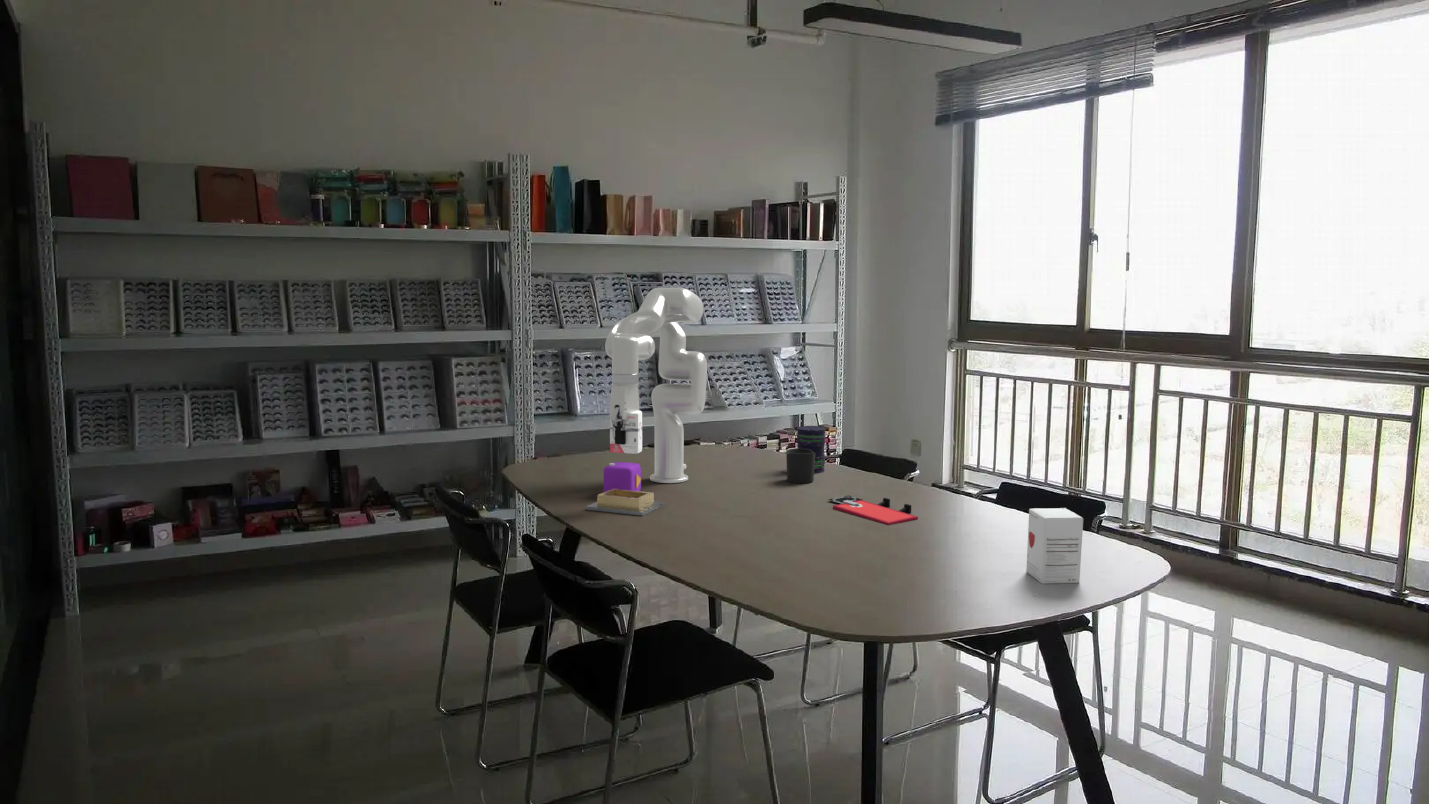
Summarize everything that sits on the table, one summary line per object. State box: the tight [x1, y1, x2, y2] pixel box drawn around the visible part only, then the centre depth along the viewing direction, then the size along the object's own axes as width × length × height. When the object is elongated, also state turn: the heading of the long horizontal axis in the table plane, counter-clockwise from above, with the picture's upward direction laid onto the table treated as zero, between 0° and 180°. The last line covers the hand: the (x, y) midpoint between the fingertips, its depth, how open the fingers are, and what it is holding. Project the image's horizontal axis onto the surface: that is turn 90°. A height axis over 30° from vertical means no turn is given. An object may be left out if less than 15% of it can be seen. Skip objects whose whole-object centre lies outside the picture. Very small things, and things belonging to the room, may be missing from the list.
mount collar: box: [585, 489, 665, 517], centre depth 281 cm, size 14×18×4 cm
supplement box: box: [1025, 507, 1084, 585], centre depth 218 cm, size 9×9×15 cm
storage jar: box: [796, 425, 826, 474], centre depth 336 cm, size 10×10×15 cm
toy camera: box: [603, 461, 642, 493], centre depth 299 cm, size 11×14×10 cm
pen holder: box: [785, 448, 815, 485], centre depth 319 cm, size 9×9×10 cm
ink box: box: [609, 409, 643, 455], centre depth 279 cm, size 9×5×12 cm, turn 80°
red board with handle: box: [827, 495, 919, 526], centre depth 280 cm, size 30×3×15 cm
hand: (625, 441), depth 279 cm, fingers closed on ink box, 5 cm apart
